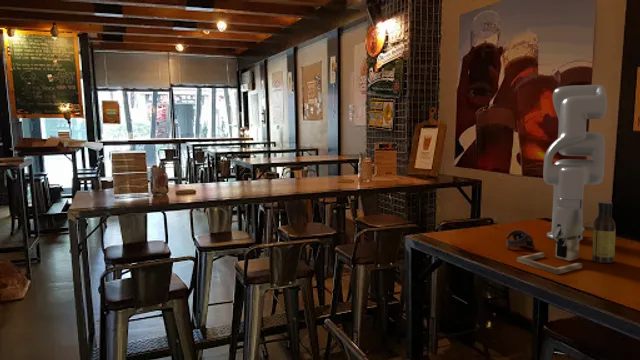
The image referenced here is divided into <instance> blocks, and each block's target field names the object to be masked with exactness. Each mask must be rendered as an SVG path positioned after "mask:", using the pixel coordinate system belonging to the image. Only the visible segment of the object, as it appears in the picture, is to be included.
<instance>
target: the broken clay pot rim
mask: <svg viewBox="0 0 640 360" xmlns="http://www.w3.org/2000/svg"><path fill="white" fill-rule="evenodd" d="M511 237H512V239H513V240H512V239H510V238H511ZM505 245H506V248H507V250H509V249H510V248H518V247H519V248H520V247H522V246H523V247H528V248H529V247H530V248H532V249H533V251H535V250H536V245H535V243H534V238H533V237H532V236H531V234H529V233H528V232H527V231H526V230H524V229H513V230H512V231H509V232H508V234H506V242H505Z"/></svg>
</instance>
